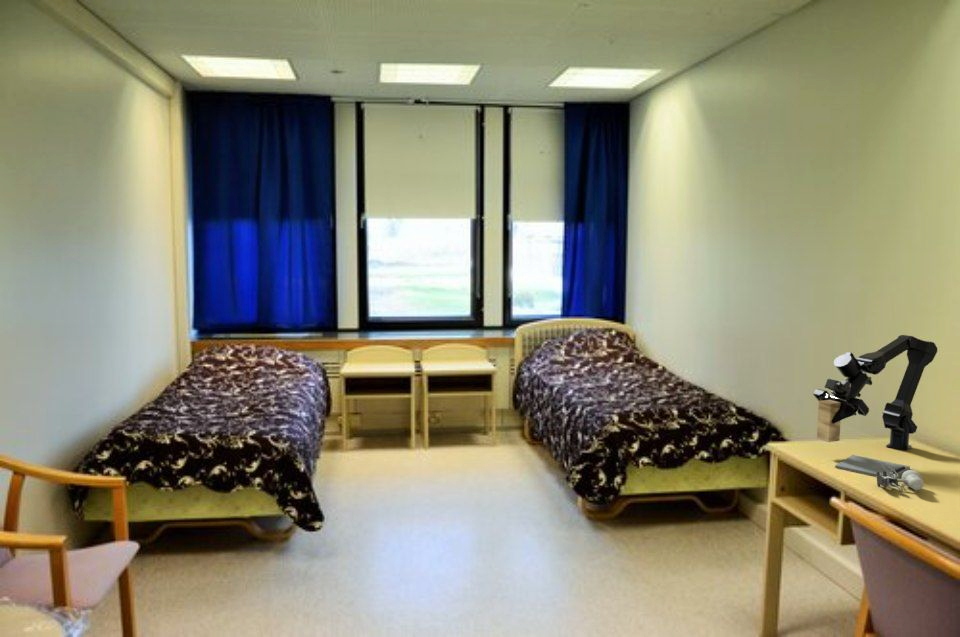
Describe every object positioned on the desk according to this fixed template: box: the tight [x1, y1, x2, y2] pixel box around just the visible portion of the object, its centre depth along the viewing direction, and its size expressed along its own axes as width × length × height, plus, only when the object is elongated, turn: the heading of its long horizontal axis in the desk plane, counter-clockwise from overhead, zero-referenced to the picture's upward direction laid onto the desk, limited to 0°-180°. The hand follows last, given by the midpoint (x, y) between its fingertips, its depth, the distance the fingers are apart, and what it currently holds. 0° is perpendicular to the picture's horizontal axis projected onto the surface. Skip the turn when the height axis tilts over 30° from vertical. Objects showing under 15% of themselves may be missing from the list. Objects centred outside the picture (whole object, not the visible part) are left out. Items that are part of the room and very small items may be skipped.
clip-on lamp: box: [876, 460, 925, 492], centre depth 207 cm, size 12×6×18 cm
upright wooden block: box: [816, 400, 842, 443], centre depth 233 cm, size 5×5×13 cm
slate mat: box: [834, 454, 911, 479], centre depth 223 cm, size 16×17×1 cm
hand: (825, 420), depth 233 cm, fingers closed on upright wooden block, 5 cm apart
